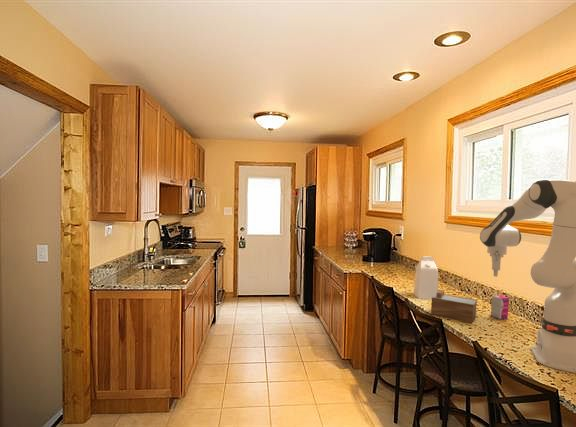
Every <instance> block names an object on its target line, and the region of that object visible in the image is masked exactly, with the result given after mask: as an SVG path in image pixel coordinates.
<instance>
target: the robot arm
mask: <svg viewBox="0 0 576 427" xmlns="http://www.w3.org/2000/svg"><path fill="white" fill-rule="evenodd" d="M549 208H552V210H553V211H554V217H553V223H552V229H551V230H552V231H551V235H550V240H549V243H548V246H547V248H546V250H545V252H544V254H543V255H542V256H541V258H540V259H538V260H537V261H536V262H534V263H533V264H532V266H531V268H530V277H531V280H532V282H534V283H535V284H536V285H539V286H540V287H541V286H542V287H545V288H550V289H552V288H553V290H552V292H551V294H549V295H548V296H547V297H546V298H545V300H544V306H543V308H544V309H543V317H542V319H541V328H539V329H538V330H537V332H536V341H535V346H533V345H532V346H530V348H529V350H530V349H531V350H532V352H533V353H532V352H531V353H532V355H533V354H534V355H533V357H534V356H535V357H534V359H535V358H536V359H535V361H536V360H537V361H538V362H539V363H538V362H537V361H536V362H537V363H538V364H540V363H541V364H540V365H542V364H543V366H545V367H548V368H551V369H556V370H559V371H564V372H568V373H572V374H573V373H575V374H576V181H574V180H573V181H572V180H564V179H545V178H540V179H537V180H535V181H534V182H532V184H531V185H529V186H528V187H527V188H526V190H525V191H524V192H523V194H522V195H521V196H520V197H519V198H518V199H517V200H516V201H515V202H513V203H512V204H510V205H508V206H507V207H505V208H503V210H501V212H500V213H499V214H498V215H497V216H495V218H494V219H493V220H491V221H490V223H489V225H487V226H485V227H484V228H483V229H482V230H481V231H480V234H479V239H480V242H482V244H483V245H484V246H486V248H487V250H486V251H487V253H488V254H489V257H491V269H492V271H493V277H498V274H499V271H501V264H502V263H501V261H502V258H504V255H507V250H508V247H509V248H510V247H517V246H518V245H519V244H520V243H521V241H522V233H521V232H520V230H519V229H518V228H515V227H513V226H511V225H510V224H511V223H514V222H518V221H522V220H523V221H524V220H532V219H535V218H538V217H540V216H541V215H542V214H543V213H545V212H546V210H547V209H549ZM531 350H530V351H531Z"/></svg>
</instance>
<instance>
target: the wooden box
mask: <svg viewBox="0 0 576 427" xmlns="http://www.w3.org/2000/svg"><path fill="white" fill-rule="evenodd" d="M446 295H447V296H451V294H450V295H449V294H446ZM452 296H453V297H457V295H456V296H455V295H452ZM458 297H459V298H462V297H463V296H458ZM464 298H465V299H468V298H466V297H464ZM469 299H470V298H469ZM470 300H476V304H475V305H472V304H466V303H461V302H455V301H449V300H444V299H438V298H432V299H431V307H430V315H431V316H434V317H439V318H445V319H450V320H455V321H460V322H465V323H469V324H474V321H475V319H476V317H477V306H478V304H477V302H478V300H477V299H472V298H471V299H470Z"/></svg>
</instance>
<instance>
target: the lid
mask: <svg viewBox="0 0 576 427" xmlns="http://www.w3.org/2000/svg"><path fill="white" fill-rule="evenodd" d="M447 295H448V294H445V291H444V290H441V289H440V290H439V289H438V292H437V294H436V295H434V296H433V297H432V298H438V299H444V300H449V301H455V302H461V303H466V304H472V305H475V304H476V300H477V299H474V300H470V298H469V299H465V298H466V297H463V298H459V297H460V296H456V297H453V296H454V295H450V296H447Z"/></svg>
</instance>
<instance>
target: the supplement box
mask: <svg viewBox="0 0 576 427" xmlns="http://www.w3.org/2000/svg"><path fill="white" fill-rule="evenodd" d="M509 304H510V297H507V296H505V295H502V294H498V295H497V294H496V295H491V308H490V317H492V318H494V319H497V320H507V319H508V315H509Z"/></svg>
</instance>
